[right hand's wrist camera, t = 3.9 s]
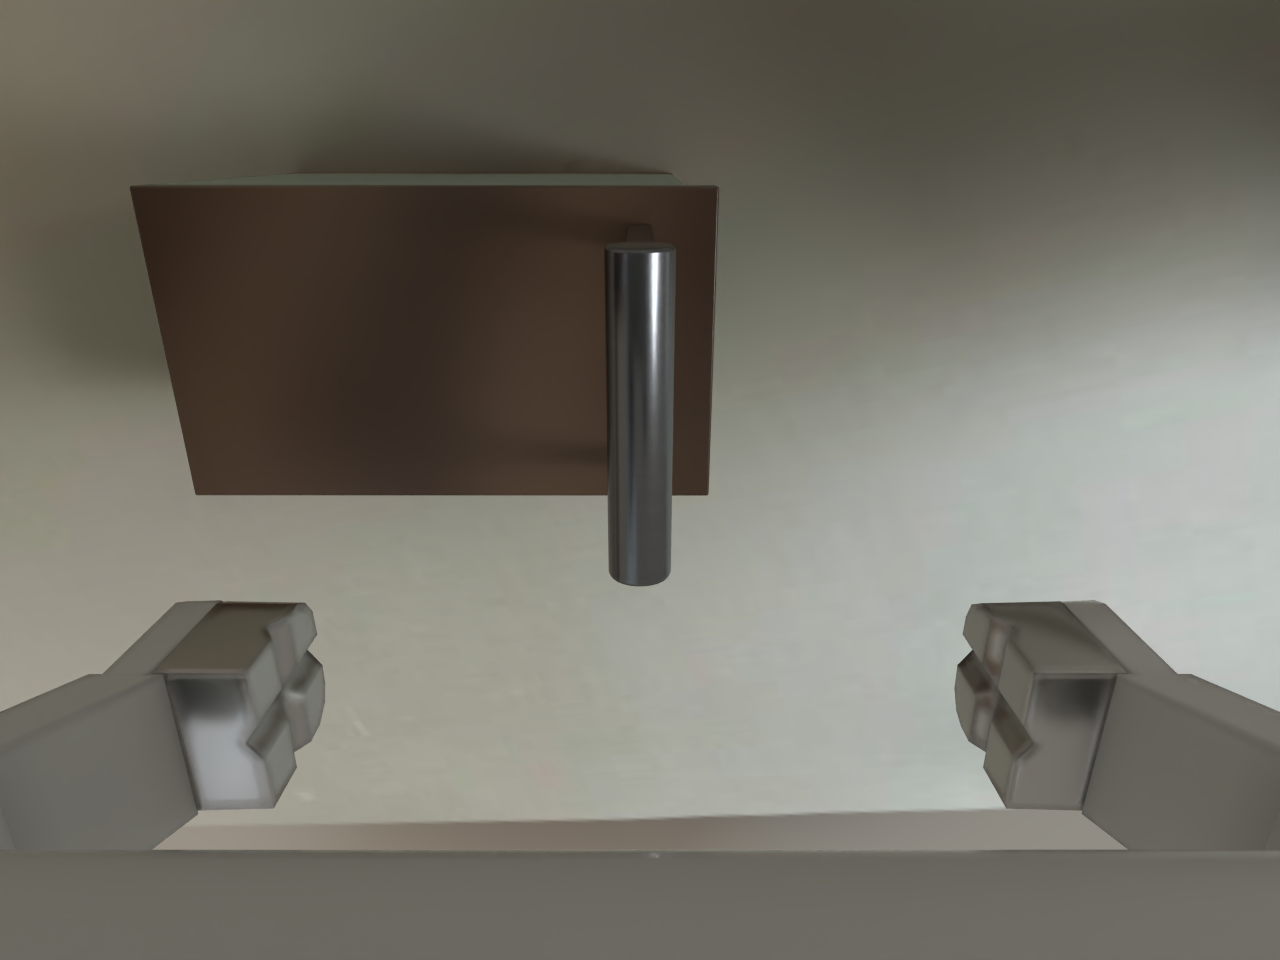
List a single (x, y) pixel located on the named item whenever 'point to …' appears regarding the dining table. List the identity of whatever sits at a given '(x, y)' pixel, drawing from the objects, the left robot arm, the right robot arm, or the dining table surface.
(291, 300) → the lid
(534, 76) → the dining table surface
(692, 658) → the dining table surface
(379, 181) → the chest
